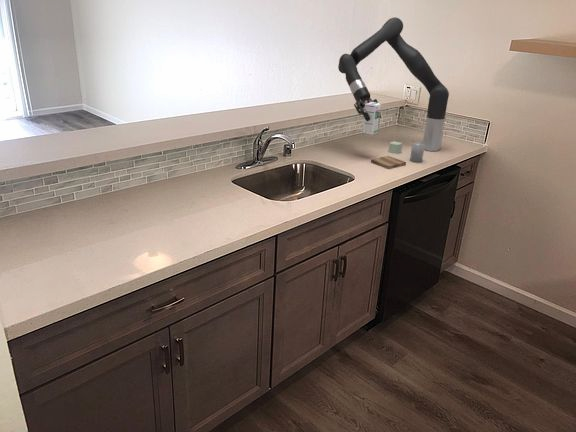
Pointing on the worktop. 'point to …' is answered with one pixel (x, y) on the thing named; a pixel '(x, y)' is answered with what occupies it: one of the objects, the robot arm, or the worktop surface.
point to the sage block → (395, 147)
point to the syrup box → (372, 118)
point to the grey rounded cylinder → (417, 152)
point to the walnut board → (388, 162)
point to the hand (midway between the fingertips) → (374, 119)
